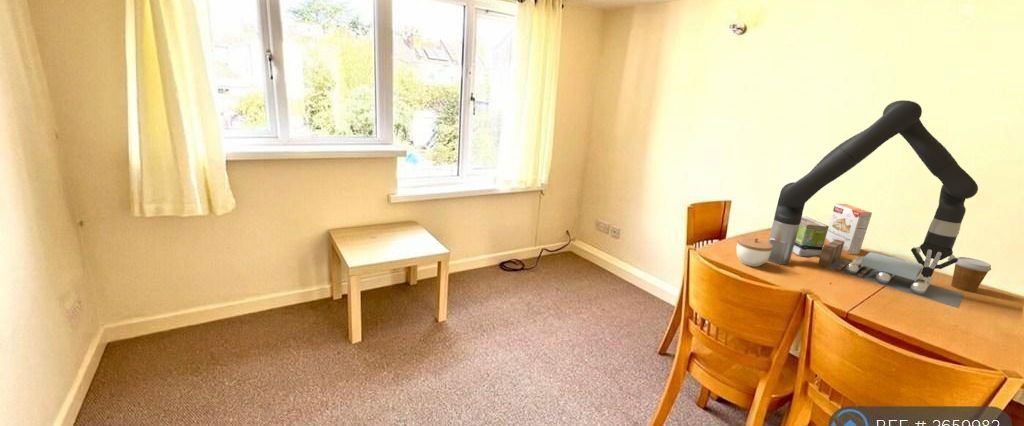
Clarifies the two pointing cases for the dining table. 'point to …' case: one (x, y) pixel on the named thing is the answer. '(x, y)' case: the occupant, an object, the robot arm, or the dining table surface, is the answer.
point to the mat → (905, 284)
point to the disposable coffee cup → (969, 273)
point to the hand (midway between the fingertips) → (925, 276)
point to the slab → (892, 265)
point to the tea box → (810, 237)
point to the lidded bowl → (753, 251)
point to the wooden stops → (836, 257)
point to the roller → (854, 265)
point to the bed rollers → (916, 288)
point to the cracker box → (848, 227)
